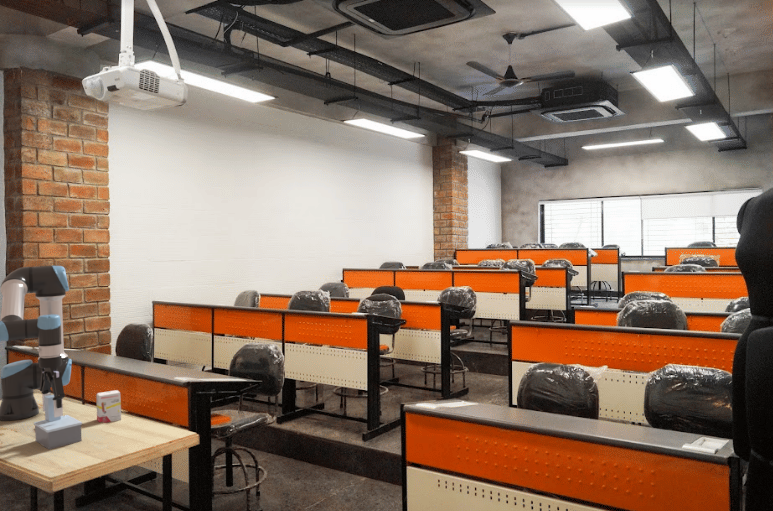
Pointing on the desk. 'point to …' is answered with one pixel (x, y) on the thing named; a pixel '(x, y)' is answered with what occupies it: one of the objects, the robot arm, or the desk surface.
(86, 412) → the desk surface
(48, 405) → the lid
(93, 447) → the desk surface
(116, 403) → the ink box
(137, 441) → the desk surface
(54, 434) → the tub
